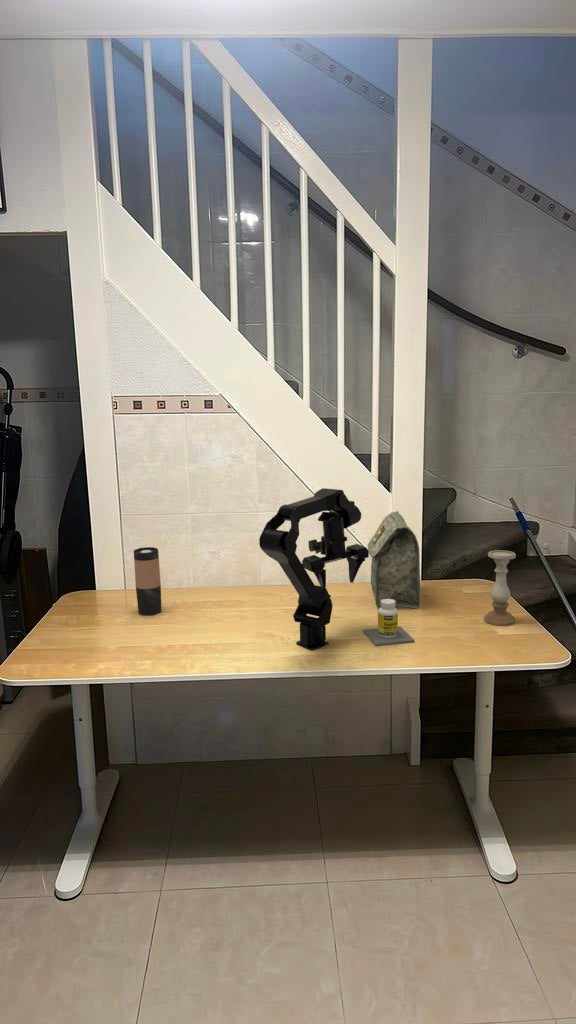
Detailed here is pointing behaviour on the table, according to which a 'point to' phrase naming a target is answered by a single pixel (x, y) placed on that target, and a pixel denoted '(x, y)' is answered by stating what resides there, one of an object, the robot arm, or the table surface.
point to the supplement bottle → (387, 619)
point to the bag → (395, 563)
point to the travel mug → (147, 580)
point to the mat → (379, 641)
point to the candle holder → (500, 590)
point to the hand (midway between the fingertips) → (337, 586)
